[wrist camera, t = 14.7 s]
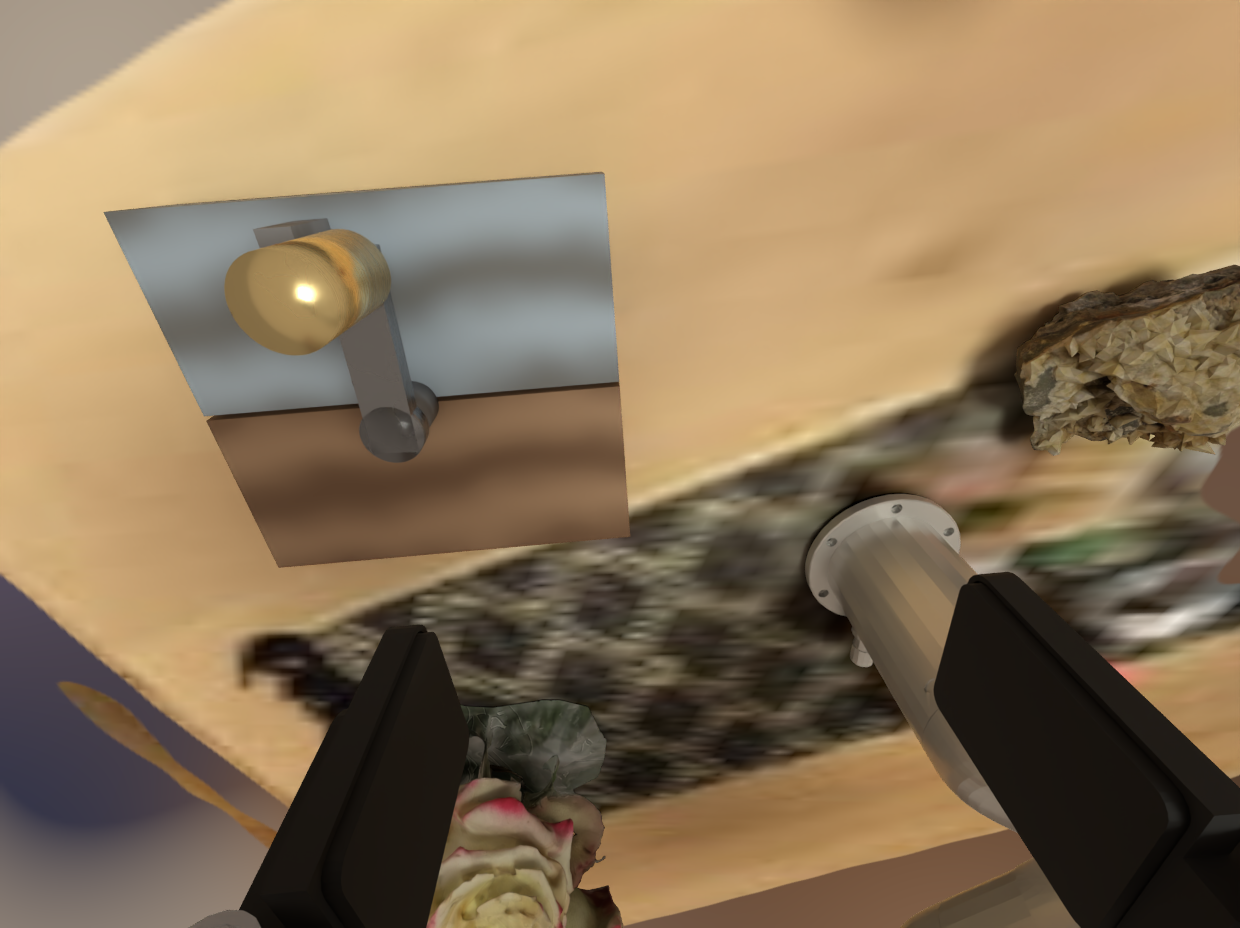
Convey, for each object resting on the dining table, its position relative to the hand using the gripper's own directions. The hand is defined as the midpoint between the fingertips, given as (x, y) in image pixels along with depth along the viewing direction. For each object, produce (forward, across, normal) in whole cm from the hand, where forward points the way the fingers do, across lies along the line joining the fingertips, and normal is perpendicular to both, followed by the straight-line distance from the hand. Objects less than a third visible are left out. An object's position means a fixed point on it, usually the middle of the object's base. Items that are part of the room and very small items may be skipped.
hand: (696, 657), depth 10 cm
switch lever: (+20, +13, -1) cm, 23 cm away
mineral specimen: (+29, -32, +6) cm, 44 cm away
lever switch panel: (+28, +13, +2) cm, 31 cm away
